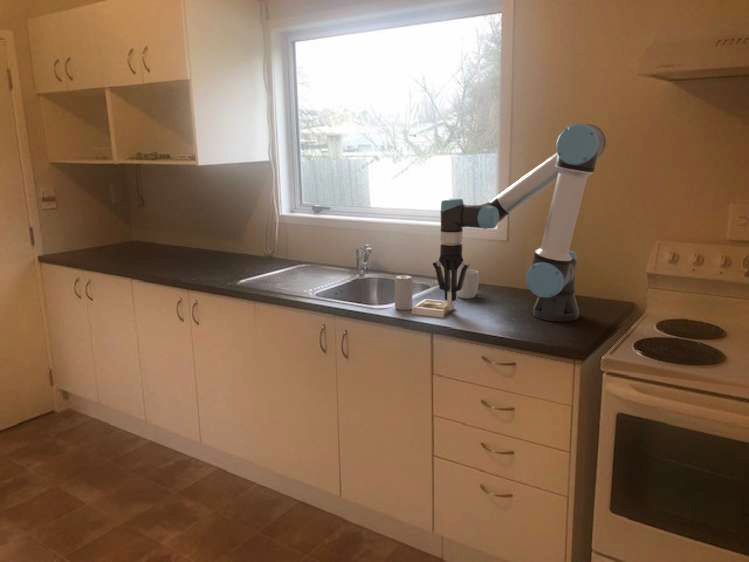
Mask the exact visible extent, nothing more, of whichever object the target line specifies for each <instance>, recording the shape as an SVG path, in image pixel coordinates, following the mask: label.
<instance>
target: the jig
mask: <svg viewBox="0 0 749 562" xmlns="http://www.w3.org/2000/svg"><path fill="white" fill-rule="evenodd" d="M426 301H428V302H437V303H443V302H444V301H445V300H438V299H429V298H428V299H426V298H424V299H423V300H421V301H419V302H418V303H416V304H415V305H412V308H411V309H412V311H411V313H412V315H418V316H426V317H435V318H436V317H437V318H444V317H445V316H444V310H441V309H432V308H423V303H424V302H426ZM455 306H456V302H455V301H454V309H453V310H455V309H456V307H455Z"/></svg>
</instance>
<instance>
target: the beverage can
mask: <svg viewBox="0 0 749 562" xmlns="http://www.w3.org/2000/svg"><path fill="white" fill-rule="evenodd" d="M413 282H414V281H413V279H412V276H411V275H403V274H402V275H397V276H395V279H394V308H395V309H397V310H398V311H401V310H403V312H404V311H406V312H407V311H409V310H411V309H412V307H413Z"/></svg>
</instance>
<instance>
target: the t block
mask: <svg viewBox="0 0 749 562" xmlns="http://www.w3.org/2000/svg"><path fill="white" fill-rule="evenodd" d="M443 301H444V302H443V303H437V302H428V301H426V302H424V303H423V308H432V309H441V310H444V317H445V316H446V315H448V314H449V313H450V312H452V311H453V309H452V310H447V300H443Z"/></svg>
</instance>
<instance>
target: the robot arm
mask: <svg viewBox="0 0 749 562" xmlns="http://www.w3.org/2000/svg"><path fill="white" fill-rule="evenodd" d="M606 139H607V138H606V136H605V133H604V132H603V130H602V129H601V128H599V127H598V126H597V125H594V124H590V123H580V122H579V123H574V124H571V125H569V126H568V127H566V128H564V129H563V130H562V131H561V133H560V134H559V136H558V137H557V140H556V147H555V148H556V152H555V153H554V154H552V155H551V156H550V157H547V159H546V160H544V161H542V162H541V163H540V164H539V165H537V166H536V167H535V168H533V169H531V171H529V172H528V173H526V174H525V175H523V176H522V177H521V178H519V180H517V181H516V182H514V183H512V184H511V185H510V186H509V187H507V188H506V189H505V190H504V191H502V192H501V193H499V194H497V195H496V196H495V197H494V198H492V199H491V200H489V201H488V202H486V203H482V204H478V205H477V204H476V205H475V204H472V205H470V204H464V200H463V198H459V197H446V198H443V199H442V200H441V203H440V240H439V242H440V243H441V244H440V251H439V252H440V256H439V257H438V260H436V261H434V262H433V263H432V266H433V267H434V269H435V273H436V274H435V275H436V278H437V282H438V287H439V289H440V290H442V291H444V301H447V310H452V311H453V310H455V309H454V302H455V301H456V300H457V291H459V290H461V289H462V286H463V282H464V278H465V274H466V270H467V269H469V268H470V263H466V262H465V261H464V257H463V244H462V243H463V231H464V229H463V228H473V229H474V228H475V229H483V230H486V229H495V228H496V227H497V226H498V223H500V222H501V221H503V220H504V219H505V218H506V217H507V216H508V215H510V214H511V213H513V211H515V210H517V209H519V207H521V206H522V205H524V204H525V203H526V202H528V201H529V200H531V199H532V198H534V197H535V196H536V195H538V194H539V193H541V192H542V191H543V190H545V189H546V188H548V187H549V186H551V185H552V184H554V183H555V186H554V191H553V194H552V198H551V203H550V207H549V212H548V215H547V220H546V224H545V229H544V233H543V236H542V240H541V241H542V242H541V245H540V247H539V248H537V249H535V250H534V253H533V258H532V262H531V265H530V266H529V268H528V269H527V271H526V274H525V283H526V286H527V288H528V289H529V291H531V293H533V295H535V296H537V298H536V301H535V303H534V306H533V312H532V313H533V314H532V315H533V317H535V318H537V319H540V320H543V321H549V322H571V321H577V319H579V316H580V315H579V314H580V310H579V306H578V302H577V299H576V296H575V293H576V292H575V291H576V279H577V278H576V277H577V263H578V254H577V253H576V252H575V251H573V250H572V251H571V250H570V247H571V244H572V239H573V235H574V231H575V227H576V223H577V219H578V215H579V213H580V212H579V211H580V209H581V208H580V207H581V203H582V200H583V195H584V191H585V188H586V184H587V180H588V179H587V178H589V176H591V175H593V174H594V172H595V169H596V165H597V161H598V158H599V157H601V155H602V154H603V153H604V152H605V148H606V144H607V143H606V142H607V141H606ZM441 266H442V267H441ZM442 268H443V269H444V271H443V270H442ZM459 268H461V269H460V270H461V273H460V277H459V281H458V285H457V271H458V270H459ZM443 272H444V275H443Z"/></svg>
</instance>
